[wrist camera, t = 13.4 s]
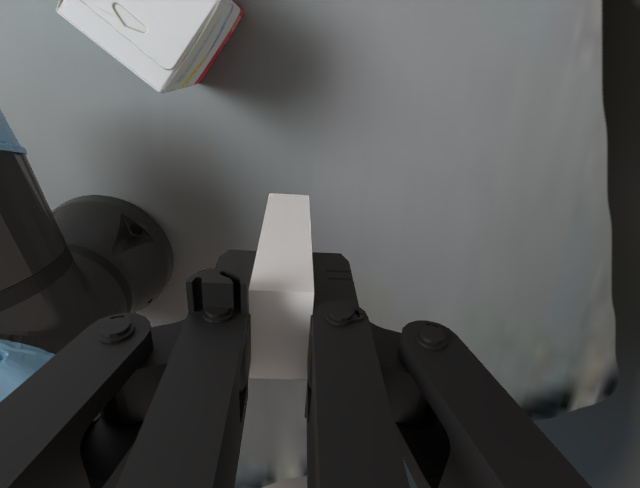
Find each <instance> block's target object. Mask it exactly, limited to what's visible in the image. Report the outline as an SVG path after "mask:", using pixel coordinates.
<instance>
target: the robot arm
mask: <svg viewBox="0 0 640 488" xmlns="http://www.w3.org/2000/svg"><path fill="white" fill-rule="evenodd" d="M25 154H27V152H26V150H25V148H24V147H22V146H20V144H19V142H18V141H17V139H16V137H15V135H14V134H13V132H12V130H11V128H10V126H9V124H8V122H7V120H6V119H5V117H4V115H3V113H2V111H1V110H0V488H234V487H235V480H236V473H237V466H238V460H239V453H240V446H241V439H242V433H243V426H244V419H245V412H246V405H247V399H248V376H249V378H250V379H297V380H307V378H308V382H307V394H306V407H305V418H307V484H308V485H307V486H308V488H410V487H409V482H408V478H407V474H406V470H405V466H404V462H403V459H404V461H405V463H406V465H407V467H408V469H409V471H410V473H411V475H412V477H413V479H414V481H415V483H416V485H417V487H418V488H592V487H591V486H590V485H589V484H588V483H587V482H586V481H585V479H584V478H583V477H582V476H581V475H580V474H579V473H578V472H577V470H576V469H575V468H574V467H573V466H572V465H571V464H570V463H569V461H568V460H567V459H566V458H565V457H564V456H563V455H562V454H561V452H560V451H559V450H558V449H557V448H556V447H555V446H554V445H553V443H552V442H551V441H550V440H549V439H548V438H547V437H546V435H545V434H544V433H543V432H542V431H541V430H540V429H539V428H538V426H537V425H536V424H535V423H534V422H533V421H532V420H531V419H530V417H529V416H528V415H527V414H526V413H525V412H524V411H523V410H522V408H521V407H520V406H519V405H518V404H517V403H516V402H515V400H514V399H513V398H512V397H511V396H510V395H509V394H508V393H507V391H506V390H505V389H504V388H503V387H502V386H501V385H500V384H499V382H498V381H497V380H496V379H495V378H494V377H493V376H492V375H491V373H490V372H489V371H488V370H487V369H486V368H485V367H484V366H483V364H482V363H481V362H480V361H479V360H478V359H477V358H476V356H475V355H474V354H473V353H472V352H471V351H470V350H469V349H468V347H467V346H466V345H465V344H464V343H463V342H462V341H461V340H460V338H459V337H458V336H457V335H456V334H455V333H453V332H452V331H451V330H450V329H449V328H447V327H445V326H443V325H441V324H438V323H435V322H430V321H414V322H411V323H408V324H407V325H406V326H405V327H404V328H403V330H402V333H399V332H395V331H391V330H387V329H384V328H381V327H378V326H376V325H374V324H372V323H371V322H369V319H368V316H367V315H366V313H365V311H364V310H362V309H361V308H360V307H359V305H358V300H357V296H356V291H355V287H354V282H353V278H352V273H351V269H350V264H349V261H348V260H347V259H346V258H345V257H344V256H343V255H342V254H337V253H314V252H312V242H311V224H310V206H309V195H293V194H275V193H269V197H268V202H267V206H266V211H265V216H264V220H263V225H262V230H261V234H260V239H259V244H258V248H257V251H242V250H228V251H227V252H226V253H225V254H223V255H222V256H221V257H220V258H219V260H218V262H217V265H216V268H213V269H207V270H203V271H200V272H198V273H196V274H194V275H192V276H191V277H190V278H189V279H188V280H187V281H186V288H187V299H188V309H189V313H188V316H187V318H186V319H184V320H182V321H179V322H176V323H172V324H168V325H162V326H157V327H151V326H150V322H149V321H148V319H147V318H146V317H145V316H142V315H139V314H136V312H137V311H138V310H140V309H142V308H144V307H146V306H147V305H149V304H150V303H152V302H153V301H154V300H155V299H156V298H157V297H158V296H159V295H160V293H161V292H162V291H163V289H164V287H165V285H166V284H167V282H168V280H169V278H170V276H171V273H172V268H173V254H172V249H171V246H170V243H169V241H168V239H167V237H166V235H165V233H164V232H163V230H162V229H161V228H160V226H159V225H158V224H157V223H156V222H155V221H154V220H153V219H152V218H151V217H150V216H149V215H148V214H146V213H145V212H144V211H142V210H141V209H139V208H138V207H136V206H134V205H132V204H130V203H128V202H125V201H123V200H120V199H117V198H113V197H108V196H100V195H90V196H82V197H78V198H74V199H71V200H69V201H67V202H65V203H63V204H62V205H60V206H59V207H57V208H56V209H54V210H53V211H51V210H50V208H49V206H48V203H47V201H46V199H45V197H44V195H43V192H42V190H41V188H40V186H39V184H38V181H37V179H36V177H35V175H34V173H33V170H32V168H31V166H30V164H29V162H28V160H27V157H26V155H25ZM402 457H403V458H402Z"/></svg>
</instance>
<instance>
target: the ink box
mask: <svg viewBox="0 0 640 488" xmlns="http://www.w3.org/2000/svg"><path fill="white" fill-rule="evenodd" d="M56 11H57V13H58V14H59V15H61V16H62V17H63V18H65V19H66V20H67V21H68V22H70V23H71V24H72V25H73V26H75V27H76V28H77V29H78V30H80V31H81V32H82V33H84V34H85V35H86V36H87V37H89V38H90V39H91V40H93V41H94V42H95V43H96V44H98V45H99V46H100V47H101V48H103V49H104V50H105V51H106V52H108V53H109V54H110V55H112V56H113V57H114V58H115V59H117V60H118V61H119V62H121V63H122V64H123V65H124V66H126V67H127V68H128V69H129V70H131V71H132V72H133V73H135V74H136V75H137V76H138V77H140V78H141V79H142V80H143V81H145V82H146V83H147V84H149V85H150V86H151V87H152V88H154V89H155V90H156V91H158V92H160V93H166V92H170V91H173V90H177V89H181V88H184V87H188V86H191V85H194V84H197V83H199V82H200V81H201V80H202V78H203V77H204V76H205V74H206V73H207V71H208V70H209V69H210V67H211V66H212V64H213V63H214V61H215V59H216V58H217V57H218V55H219V53H220V52H221V50H222V49H223V47H224V46H225V44H226V43H227V41H228V40H229V38H230V37H231V35H232V34H233V32H234V30H235V29H236V27H237V25H238V24H239V22H240V20H241V18H242V17H243V14H244V11H243V10H242V9H241V8H240V7H239V6H238V5H237V4H236V3H235V2H234V1H233V0H60V1H59V3H58V5H57V8H56Z"/></svg>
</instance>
